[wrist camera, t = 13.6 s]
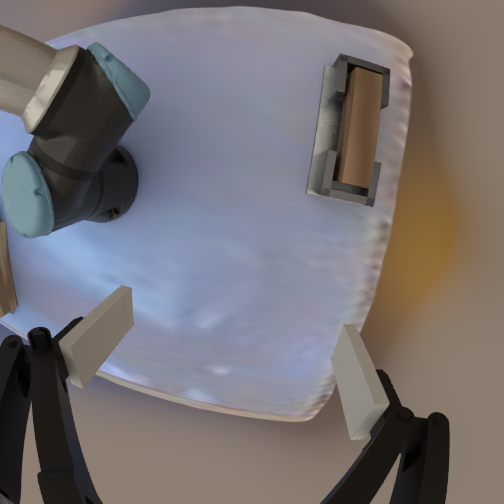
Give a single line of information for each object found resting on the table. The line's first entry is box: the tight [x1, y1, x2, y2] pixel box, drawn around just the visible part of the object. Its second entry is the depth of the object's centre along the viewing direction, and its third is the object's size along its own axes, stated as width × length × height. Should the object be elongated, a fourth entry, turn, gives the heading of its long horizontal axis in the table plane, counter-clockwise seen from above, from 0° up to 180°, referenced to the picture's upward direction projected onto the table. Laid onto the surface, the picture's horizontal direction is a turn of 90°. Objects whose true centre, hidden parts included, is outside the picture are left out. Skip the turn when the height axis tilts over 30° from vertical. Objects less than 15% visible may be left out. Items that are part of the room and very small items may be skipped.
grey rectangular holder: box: [306, 54, 390, 207], centre depth 36 cm, size 10×23×8 cm, turn 171°
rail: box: [332, 67, 383, 189], centre depth 34 cm, size 4×17×6 cm, turn 172°
